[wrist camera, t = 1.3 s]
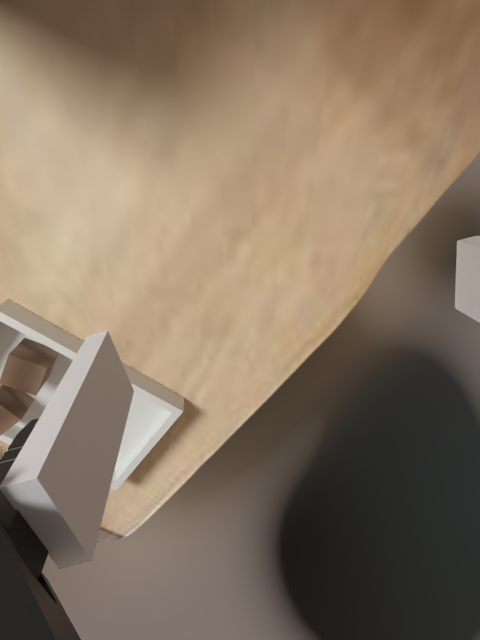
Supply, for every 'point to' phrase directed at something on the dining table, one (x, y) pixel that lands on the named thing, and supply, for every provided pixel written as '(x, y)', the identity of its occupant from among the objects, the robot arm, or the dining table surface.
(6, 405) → the walnut block
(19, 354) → the walnut block
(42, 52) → the dining table surface
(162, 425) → the tray
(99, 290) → the dining table surface
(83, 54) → the dining table surface
